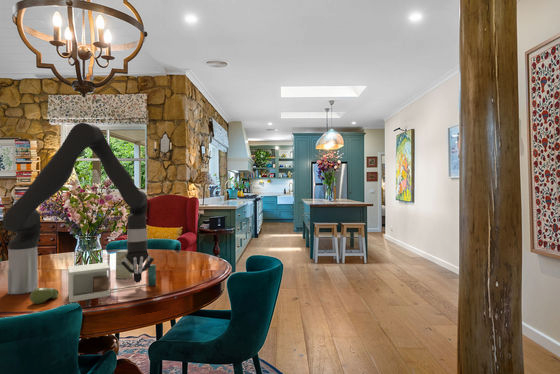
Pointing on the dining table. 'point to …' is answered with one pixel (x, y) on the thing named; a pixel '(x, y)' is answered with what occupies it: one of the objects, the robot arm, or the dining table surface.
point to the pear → (43, 295)
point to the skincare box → (120, 269)
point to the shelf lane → (85, 281)
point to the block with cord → (103, 285)
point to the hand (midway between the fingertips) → (137, 282)
